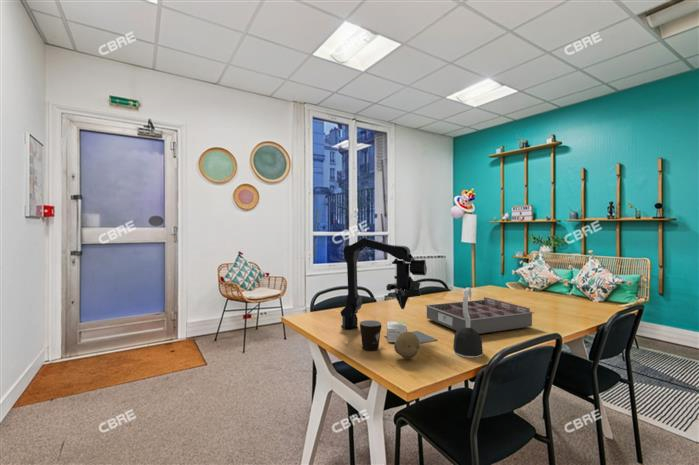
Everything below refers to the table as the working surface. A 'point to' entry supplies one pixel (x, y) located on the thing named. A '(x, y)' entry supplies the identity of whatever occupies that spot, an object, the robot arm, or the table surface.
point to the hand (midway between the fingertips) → (402, 308)
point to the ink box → (395, 330)
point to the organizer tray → (481, 315)
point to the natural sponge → (407, 345)
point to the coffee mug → (370, 334)
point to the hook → (467, 334)
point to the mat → (422, 337)
